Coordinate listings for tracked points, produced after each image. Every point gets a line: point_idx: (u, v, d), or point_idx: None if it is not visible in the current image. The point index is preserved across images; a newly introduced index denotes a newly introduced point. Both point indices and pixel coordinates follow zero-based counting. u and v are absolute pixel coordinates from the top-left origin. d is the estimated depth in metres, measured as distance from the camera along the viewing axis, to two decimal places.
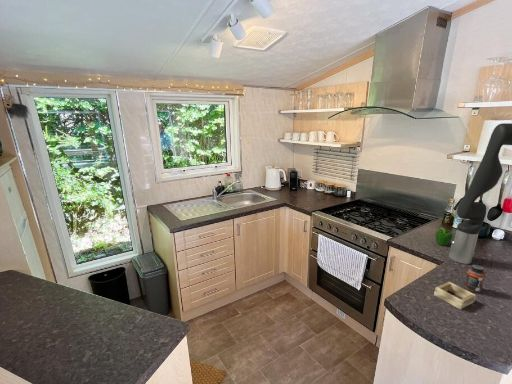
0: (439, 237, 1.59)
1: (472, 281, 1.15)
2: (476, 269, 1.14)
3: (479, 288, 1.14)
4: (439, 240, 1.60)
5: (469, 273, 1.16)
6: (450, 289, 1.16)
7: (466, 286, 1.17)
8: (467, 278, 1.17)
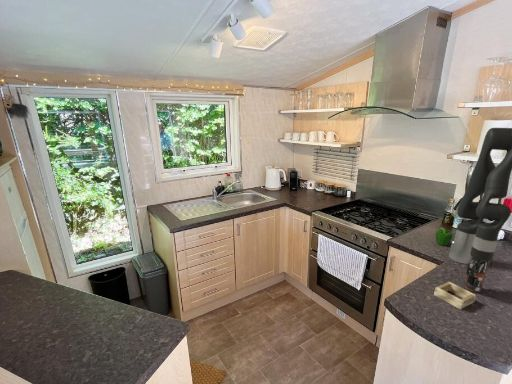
0: (439, 237, 1.59)
1: None
2: (476, 269, 1.14)
3: (479, 288, 1.14)
4: (439, 240, 1.60)
5: None
6: (450, 289, 1.16)
7: (466, 286, 1.17)
8: (467, 278, 1.17)
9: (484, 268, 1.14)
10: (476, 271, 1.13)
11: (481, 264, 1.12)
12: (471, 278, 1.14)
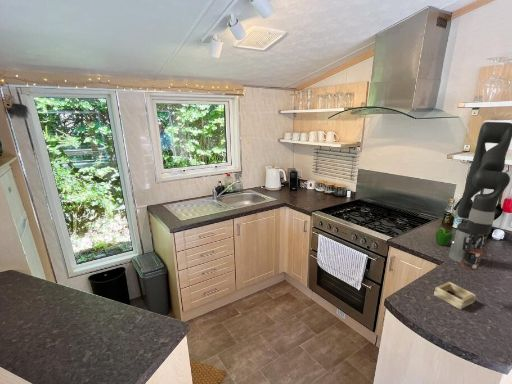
0: (439, 237, 1.59)
1: None
2: (473, 244, 1.05)
3: (476, 265, 1.05)
4: (439, 240, 1.60)
5: None
6: (450, 289, 1.16)
7: (462, 264, 1.08)
8: (463, 255, 1.08)
9: (481, 243, 1.06)
10: (473, 246, 1.04)
11: (478, 238, 1.03)
12: (467, 254, 1.05)
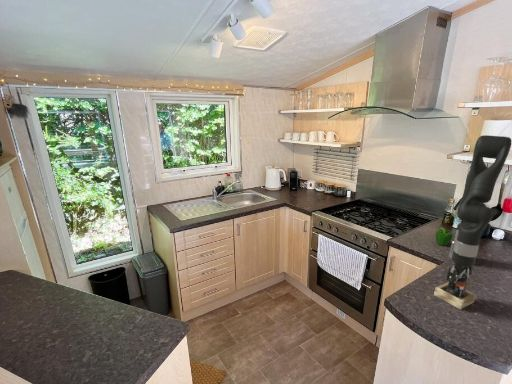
0: (439, 237, 1.59)
1: None
2: None
3: (461, 297, 1.08)
4: (439, 240, 1.60)
5: None
6: None
7: None
8: None
9: (467, 273, 1.08)
10: (457, 276, 1.05)
11: (463, 269, 1.05)
12: (451, 284, 1.06)
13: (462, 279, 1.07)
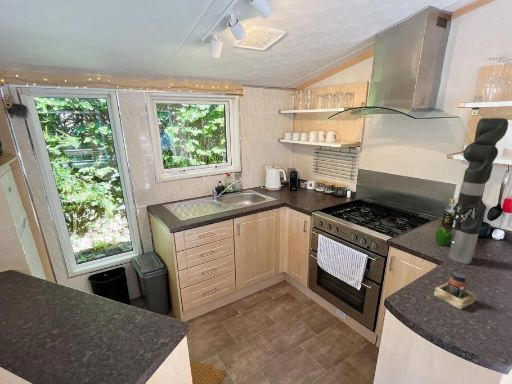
0: (439, 237, 1.59)
1: (453, 289, 1.08)
2: (457, 277, 1.07)
3: (461, 297, 1.08)
4: (439, 240, 1.60)
5: (450, 281, 1.09)
6: None
7: None
8: (448, 287, 1.11)
9: (473, 214, 1.12)
10: (463, 216, 1.10)
11: (469, 209, 1.10)
12: (458, 224, 1.11)
13: (462, 279, 1.07)
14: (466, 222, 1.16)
